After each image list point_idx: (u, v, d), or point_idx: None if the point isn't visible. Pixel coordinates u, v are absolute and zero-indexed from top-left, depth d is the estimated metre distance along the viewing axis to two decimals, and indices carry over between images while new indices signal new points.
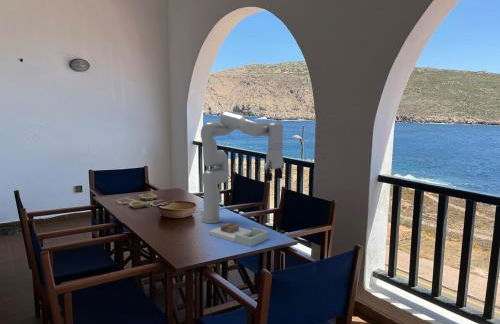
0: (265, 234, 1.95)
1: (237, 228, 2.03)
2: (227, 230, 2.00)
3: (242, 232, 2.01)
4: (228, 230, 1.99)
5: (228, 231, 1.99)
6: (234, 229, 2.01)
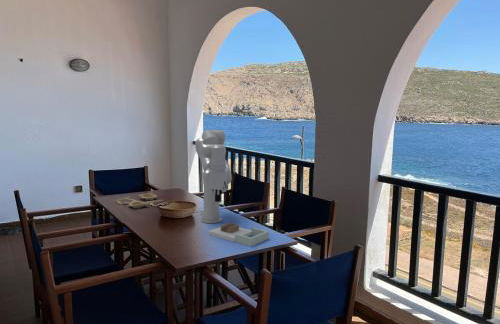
0: (265, 234, 1.95)
1: (237, 228, 2.03)
2: (227, 230, 2.00)
3: (242, 232, 2.01)
4: (228, 230, 1.99)
5: (228, 231, 1.99)
6: (234, 229, 2.01)
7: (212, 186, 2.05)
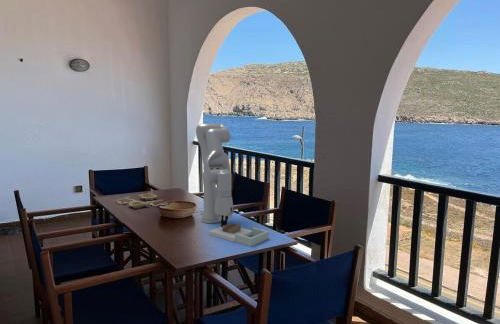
0: (265, 234, 1.95)
1: (239, 228, 2.02)
2: (229, 230, 1.99)
3: (242, 232, 2.01)
4: (229, 230, 1.99)
5: (230, 231, 1.99)
6: (236, 230, 2.01)
7: (218, 212, 2.04)
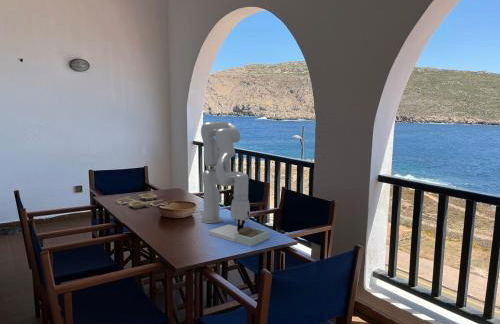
0: (265, 234, 1.95)
1: None
2: None
3: None
4: None
5: None
6: None
7: (234, 216, 1.97)
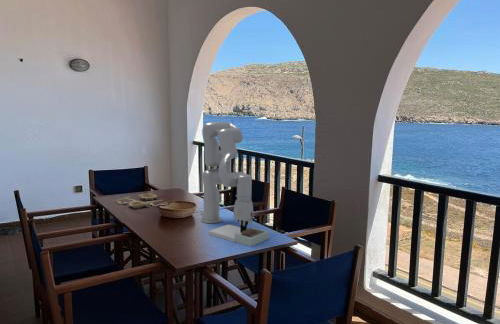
0: (265, 234, 1.95)
1: None
2: None
3: None
4: None
5: None
6: None
7: (237, 217, 1.95)
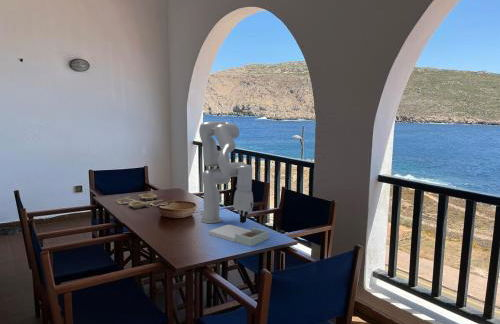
0: (265, 234, 1.95)
1: None
2: None
3: (242, 232, 2.01)
4: None
5: None
6: None
7: (237, 207, 1.95)
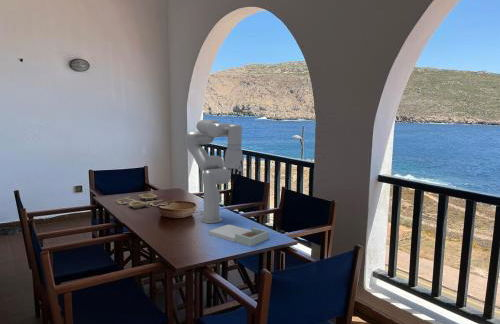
0: (265, 234, 1.95)
1: None
2: None
3: (242, 232, 2.01)
4: None
5: None
6: None
7: (227, 165, 2.04)
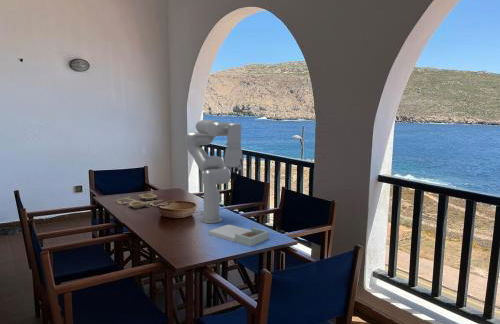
0: (265, 234, 1.95)
1: None
2: None
3: (242, 232, 2.01)
4: None
5: None
6: None
7: (227, 164, 2.04)
